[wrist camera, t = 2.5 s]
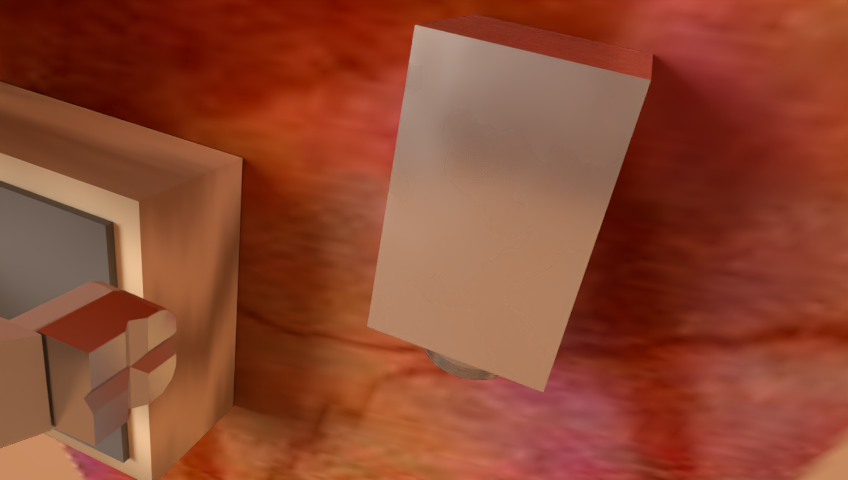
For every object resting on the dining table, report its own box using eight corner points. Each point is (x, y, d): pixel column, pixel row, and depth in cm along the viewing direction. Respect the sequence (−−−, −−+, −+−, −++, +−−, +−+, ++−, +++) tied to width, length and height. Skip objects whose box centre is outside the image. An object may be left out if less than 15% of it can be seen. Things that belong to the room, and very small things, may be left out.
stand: (-7, 79, 24) (-160, 101, 20) (242, 157, 22) (130, 205, 17) (30, 318, 30) (-84, 378, 25) (233, 405, 27) (146, 492, 22)
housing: (476, 13, 17) (415, 24, 13) (652, 53, 16) (651, 80, 12) (420, 288, 21) (360, 366, 17) (557, 335, 20) (529, 432, 16)
